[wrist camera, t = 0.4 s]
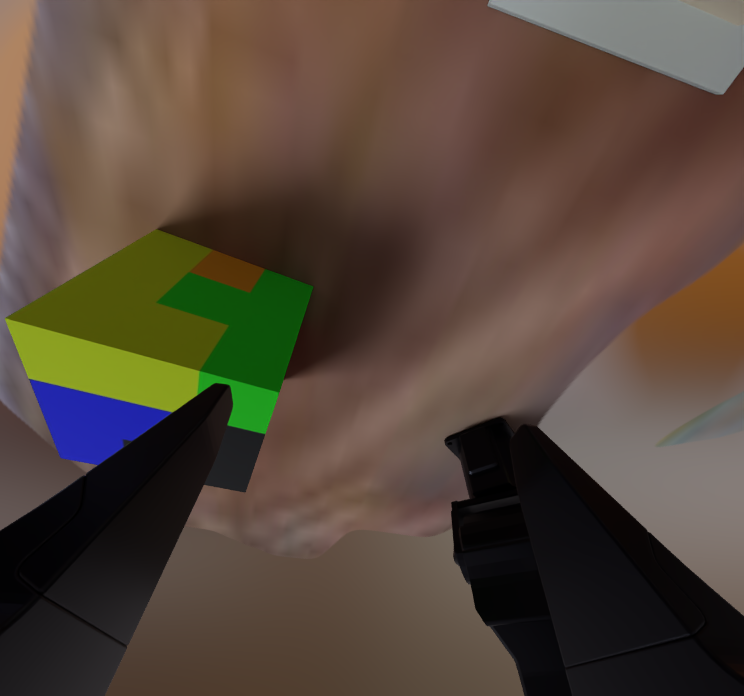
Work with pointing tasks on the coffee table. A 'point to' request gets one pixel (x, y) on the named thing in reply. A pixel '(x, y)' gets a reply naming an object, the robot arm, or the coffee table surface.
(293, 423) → the coffee table surface
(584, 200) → the coffee table surface
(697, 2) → the tile
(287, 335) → the puzzle toy
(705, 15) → the mat
